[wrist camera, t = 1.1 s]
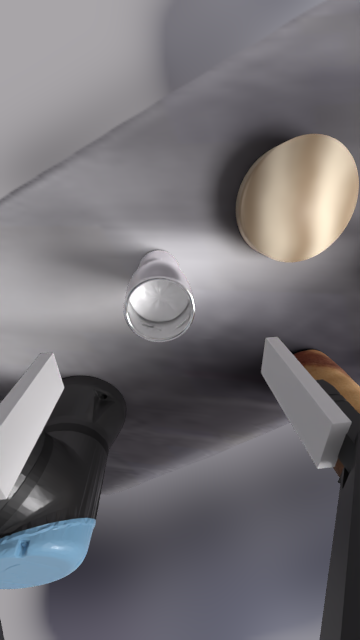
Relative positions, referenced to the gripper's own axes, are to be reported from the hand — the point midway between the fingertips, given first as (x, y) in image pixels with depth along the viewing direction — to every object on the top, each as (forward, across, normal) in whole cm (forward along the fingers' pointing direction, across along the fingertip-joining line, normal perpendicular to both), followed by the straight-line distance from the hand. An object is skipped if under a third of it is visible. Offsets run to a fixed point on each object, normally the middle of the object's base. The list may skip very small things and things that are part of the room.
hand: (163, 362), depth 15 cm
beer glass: (+23, 0, 0) cm, 23 cm away
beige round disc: (+23, -18, -8) cm, 30 cm away
